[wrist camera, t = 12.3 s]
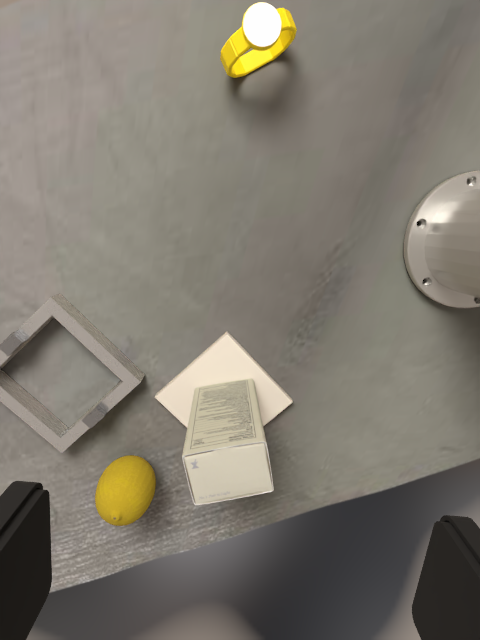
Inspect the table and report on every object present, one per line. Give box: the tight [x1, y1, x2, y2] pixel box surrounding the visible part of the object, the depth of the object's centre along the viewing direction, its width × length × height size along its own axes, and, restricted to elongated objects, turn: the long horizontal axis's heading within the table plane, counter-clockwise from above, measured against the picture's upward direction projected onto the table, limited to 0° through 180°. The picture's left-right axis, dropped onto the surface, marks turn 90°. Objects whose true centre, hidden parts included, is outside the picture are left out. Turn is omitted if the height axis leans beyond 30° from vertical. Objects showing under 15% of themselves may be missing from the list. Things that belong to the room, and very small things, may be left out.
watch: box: [220, 2, 297, 78], centre depth 30 cm, size 6×3×6 cm, turn 116°
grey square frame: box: [0, 294, 145, 453], centre depth 37 cm, size 11×11×3 cm
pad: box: [155, 332, 293, 428], centre depth 40 cm, size 10×10×1 cm
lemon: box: [95, 455, 156, 526], centre depth 38 cm, size 6×6×8 cm
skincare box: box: [182, 378, 274, 505], centre depth 33 cm, size 6×4×12 cm
